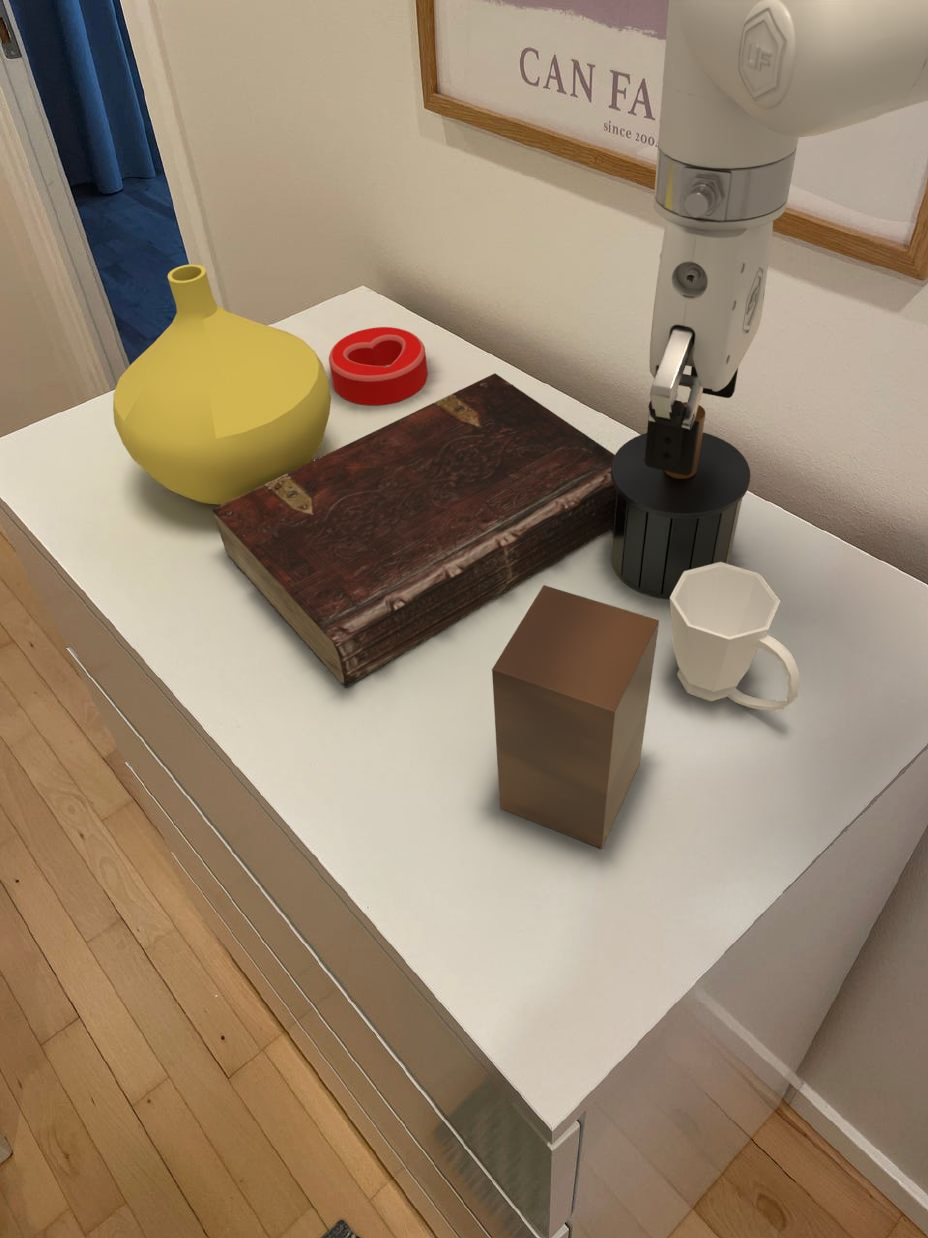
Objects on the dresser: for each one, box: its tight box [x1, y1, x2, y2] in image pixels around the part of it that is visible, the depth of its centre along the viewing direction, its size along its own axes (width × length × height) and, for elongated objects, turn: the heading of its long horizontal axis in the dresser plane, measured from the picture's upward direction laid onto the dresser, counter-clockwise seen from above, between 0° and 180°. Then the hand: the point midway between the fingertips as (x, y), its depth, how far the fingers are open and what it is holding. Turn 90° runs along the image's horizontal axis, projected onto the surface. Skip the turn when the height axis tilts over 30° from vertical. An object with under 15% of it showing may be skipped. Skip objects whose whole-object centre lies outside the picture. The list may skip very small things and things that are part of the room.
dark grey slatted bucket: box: [610, 488, 743, 600], centre depth 72 cm, size 9×9×8 cm
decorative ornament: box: [328, 326, 429, 406], centre depth 95 cm, size 10×10×3 cm
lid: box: [611, 401, 751, 519], centre depth 67 cm, size 10×10×6 cm
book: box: [211, 372, 616, 688], centre depth 77 cm, size 29×19×5 cm, turn 127°
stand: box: [491, 584, 660, 849], centre depth 57 cm, size 7×7×14 cm
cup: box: [669, 562, 800, 712], centre depth 63 cm, size 7×10×8 cm
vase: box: [112, 263, 332, 506], centre depth 80 cm, size 18×18×19 cm
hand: (690, 429), depth 66 cm, fingers open, 9 cm apart
